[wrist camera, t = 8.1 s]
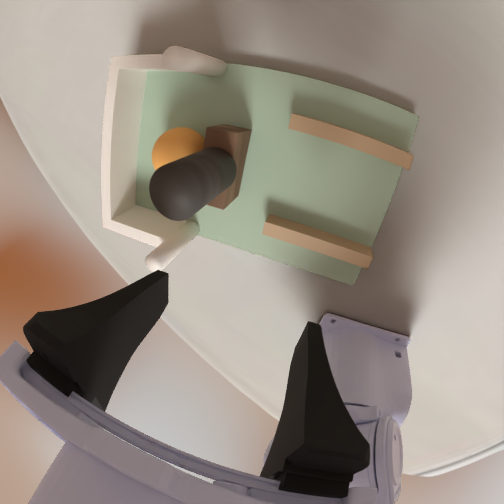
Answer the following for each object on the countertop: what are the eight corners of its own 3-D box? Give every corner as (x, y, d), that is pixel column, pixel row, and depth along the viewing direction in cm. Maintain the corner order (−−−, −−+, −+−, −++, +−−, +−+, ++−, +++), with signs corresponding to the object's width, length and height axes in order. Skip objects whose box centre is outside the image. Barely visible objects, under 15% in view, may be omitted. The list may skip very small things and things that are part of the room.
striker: (257, 131, 18) (208, 146, 11) (243, 197, 20) (194, 247, 14) (219, 122, 18) (153, 136, 11) (208, 187, 21) (147, 231, 14)
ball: (146, 129, 15) (163, 121, 19) (142, 188, 17) (158, 170, 21) (209, 135, 16) (215, 127, 19) (200, 195, 18) (207, 176, 21)
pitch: (415, 113, 15) (454, 116, 9) (351, 281, 23) (352, 341, 17) (138, 58, 18) (78, 54, 12) (125, 207, 26) (76, 238, 20)
